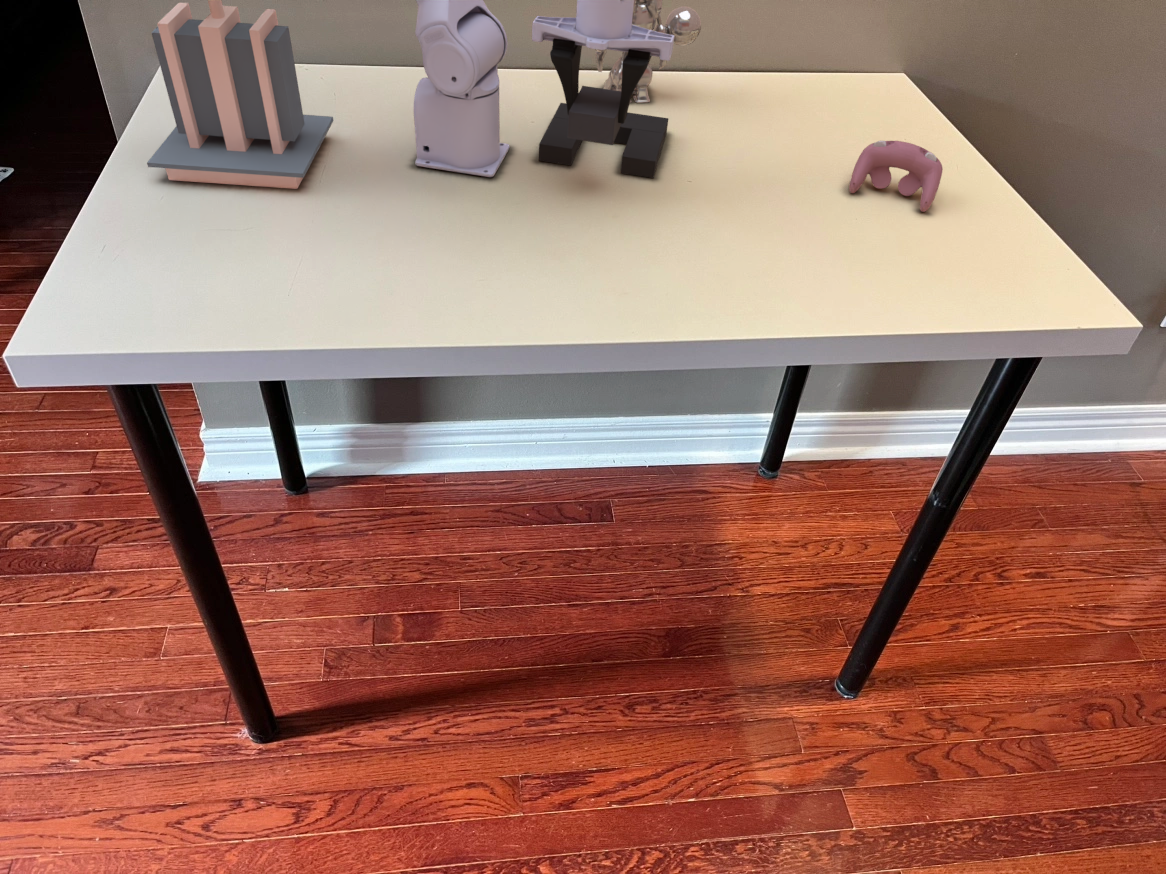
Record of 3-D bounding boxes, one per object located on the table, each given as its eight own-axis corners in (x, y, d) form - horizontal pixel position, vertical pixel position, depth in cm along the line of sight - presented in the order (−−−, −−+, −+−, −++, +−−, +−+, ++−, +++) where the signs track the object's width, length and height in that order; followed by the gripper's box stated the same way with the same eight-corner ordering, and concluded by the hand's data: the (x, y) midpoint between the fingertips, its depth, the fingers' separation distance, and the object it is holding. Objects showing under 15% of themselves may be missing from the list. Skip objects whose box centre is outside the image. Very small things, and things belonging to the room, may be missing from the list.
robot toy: (682, 82, 125) (698, -32, 114) (697, 101, 121) (715, -16, 110) (582, 87, 122) (589, -30, 111) (594, 106, 117) (602, -14, 107)
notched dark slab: (538, 161, 106) (539, 143, 104) (559, 119, 114) (560, 102, 113) (653, 178, 104) (655, 161, 103) (666, 134, 113) (668, 118, 111)
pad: (567, 138, 95) (568, 111, 93) (580, 111, 100) (582, 85, 98) (612, 145, 95) (615, 118, 93) (623, 118, 100) (626, 91, 98)
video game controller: (928, 213, 105) (950, 154, 103) (929, 213, 101) (952, 151, 99) (847, 192, 108) (867, 133, 106) (844, 191, 104) (865, 130, 102)
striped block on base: (342, 137, 107) (298, -188, 84) (313, 195, 97) (254, -157, 74) (190, 126, 107) (105, -204, 84) (146, 183, 96) (34, -174, 74)
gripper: (525, -15, 85) (523, 120, 94) (673, 5, 83) (656, 141, 93) (543, -37, 90) (539, 94, 99) (683, -18, 88) (666, 113, 98)
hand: (596, 115), depth 96 cm, fingers closed on pad, 5 cm apart
